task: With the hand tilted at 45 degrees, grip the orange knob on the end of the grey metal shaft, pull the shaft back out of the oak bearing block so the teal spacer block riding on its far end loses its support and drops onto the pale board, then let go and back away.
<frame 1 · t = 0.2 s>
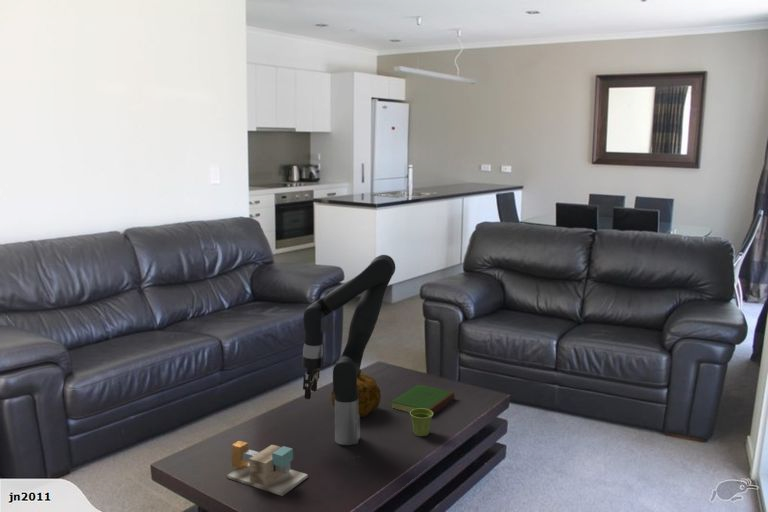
hand: (310, 394, 247), 18 cm above the table, tool pointing down, fingers open, 8 cm apart
bearing block: (269, 478, 219), resting on base board
hardcover book: (423, 404, 285), on the table
plant pot: (421, 433, 255), on the table
spacer: (282, 462, 215), point 7 cm above the table, touching shaft
decorative pumpkin: (355, 413, 275), on the table
shaft: (261, 460, 220), point 6 cm above the table, slide at 0.0 cm, touching spacer
base board: (269, 478, 219), on the table
eyeglasses: (353, 393, 298), on the table
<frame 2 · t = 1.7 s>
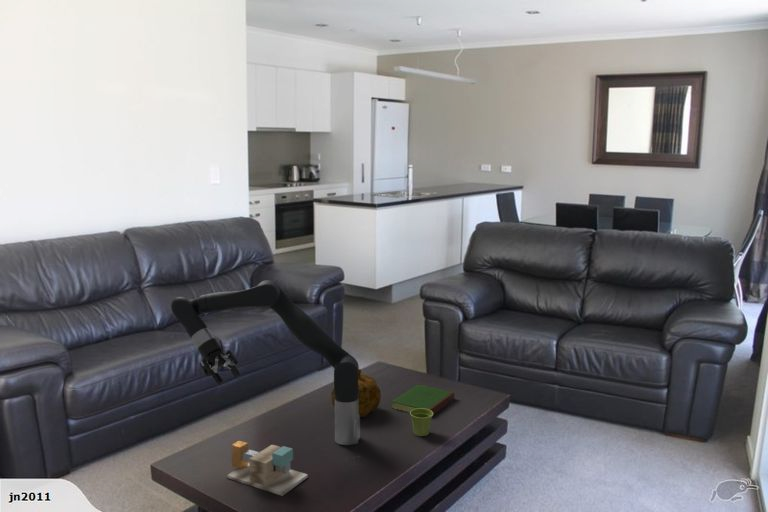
hand: (229, 379, 230), 30 cm above the table, tool tilted 45°, fingers open, 8 cm apart
nothing on the table moved.
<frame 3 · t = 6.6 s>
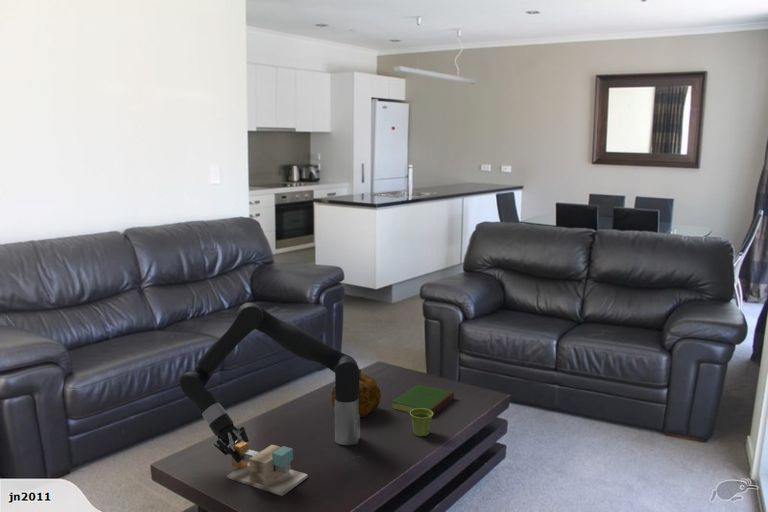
hand: (244, 458, 224), 5 cm above the table, tool tilted 45°, fingers closed on shaft, 4 cm apart
shaft: (261, 460, 220), point 6 cm above the table, slide at 0.0 cm, touching gripper, spacer
everything else where it was.
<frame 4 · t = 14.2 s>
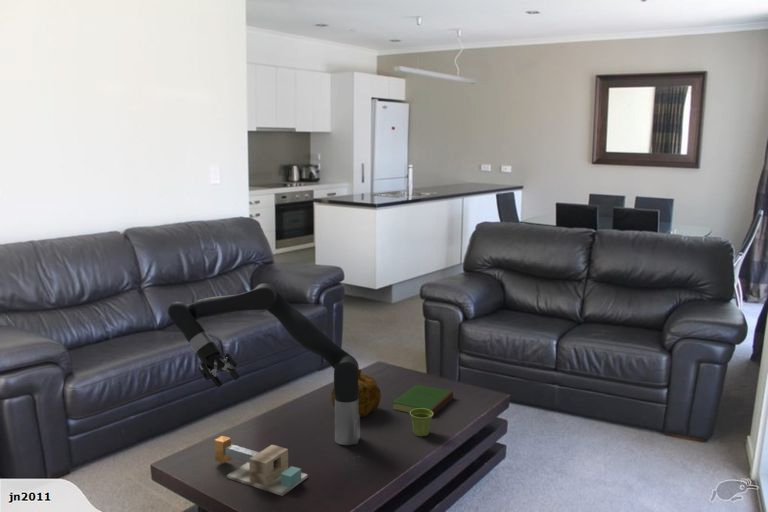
hand: (229, 382, 230), 29 cm above the table, tool tilted 45°, fingers open, 8 cm apart
spacer: (286, 475, 215), point 3 cm above the table, tilted 90°, touching base board
shaft: (243, 455, 224), point 6 cm above the table, slide at 8.0 cm
everything else where it was.
at the end: shaft slide at 8.0 cm; spacer point 3.0 cm above the table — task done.
